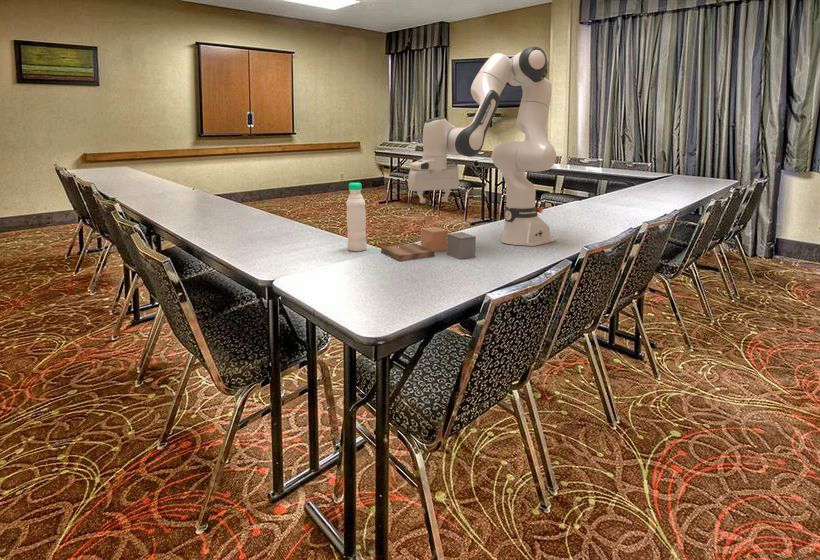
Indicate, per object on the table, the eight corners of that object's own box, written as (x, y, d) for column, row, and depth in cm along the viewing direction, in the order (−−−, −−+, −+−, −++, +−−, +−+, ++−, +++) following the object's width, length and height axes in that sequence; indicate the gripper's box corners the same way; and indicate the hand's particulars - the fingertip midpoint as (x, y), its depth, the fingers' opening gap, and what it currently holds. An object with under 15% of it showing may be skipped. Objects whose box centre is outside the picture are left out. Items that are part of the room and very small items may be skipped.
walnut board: (414, 248, 198) (414, 243, 198) (434, 256, 186) (434, 251, 185) (381, 252, 192) (381, 247, 191) (399, 261, 179) (399, 255, 179)
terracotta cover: (435, 245, 202) (435, 226, 200) (447, 250, 195) (447, 230, 193) (420, 247, 199) (421, 228, 197) (432, 252, 192) (432, 232, 190)
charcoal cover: (461, 252, 192) (462, 232, 190) (475, 257, 184) (475, 236, 182) (447, 254, 189) (447, 233, 187) (460, 259, 182) (460, 238, 179)
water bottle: (363, 252, 192) (361, 184, 185) (345, 251, 194) (342, 183, 187) (368, 248, 199) (367, 182, 192) (351, 247, 200) (348, 181, 193)
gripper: (453, 163, 196) (452, 199, 199) (405, 164, 186) (405, 202, 190) (463, 164, 190) (461, 201, 194) (414, 165, 181) (413, 204, 185)
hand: (433, 202), depth 192 cm, fingers open, 8 cm apart
